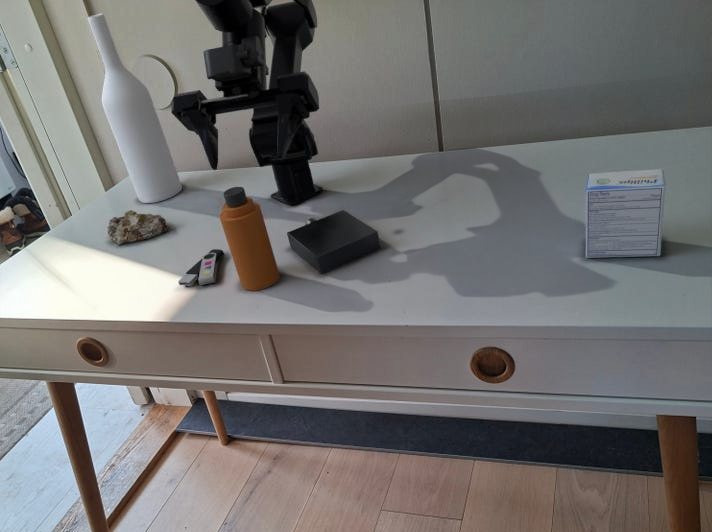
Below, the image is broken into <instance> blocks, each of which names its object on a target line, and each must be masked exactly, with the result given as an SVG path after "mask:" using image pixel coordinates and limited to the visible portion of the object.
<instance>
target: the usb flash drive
mask: <svg viewBox="0 0 712 532" xmlns="http://www.w3.org/2000/svg"><path fill="white" fill-rule="evenodd" d="M223 256H225V252H224V251H223V249H218V248H213V249H211V250H210V251H209V252H207V253H206V254H204V255H203V256H202V258H201V259H200V260H198V261H197V262H196V263H195V264H193V266H191V267H190V268H189V270H187V271H186V272H185V274H184V275H183V276H182V277H181V278H180V279H179V280H178V285H179V286H191V287H192V285H193V284H194V283H196V282H197V280H198V283H199V286H204V285H209V284H213V283H216V280H217V279H216V278H217V271H218V266H219V265H218V264H219V261H220V260H221V259H222V258H223Z"/></svg>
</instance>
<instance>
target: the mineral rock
mask: <svg viewBox="0 0 712 532" xmlns="http://www.w3.org/2000/svg"><path fill="white" fill-rule="evenodd" d="M168 229H169V226H168V225H167V220H166V218H164V217H163V216H162V215H161V214H152V213H137V211H135V210H132V209H130V210H126V211H125V212H124V215H123V216H119V217H117V216H114V217H112V218H111V219H109V220H108V226H107V234H108V238H109V241H111V242H113V243H115V244H117V245H119V246H120V245H122V244H127V243H133V242H135V241H141V240H147V239H151V238H152V237H155V236H156V235H161V234H162V233H164V232H165V233H166V232H167V231H168Z"/></svg>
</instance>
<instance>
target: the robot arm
mask: <svg viewBox="0 0 712 532" xmlns="http://www.w3.org/2000/svg"><path fill="white" fill-rule="evenodd" d="M194 1H195V2H196V4H197V6H198V7H199V8H200V10H201V11H202V12H203V14H204V16H205V17H206V19H207V20H208V22H209V23H210V24H211V26H212V27H213V29H215V31H218V32H221V46H220V47H219V46H218V47H213V48H209V49H205V50H204V51H203V53H202V54H203V58H204V66H205V72H206V79H207V80H213V81H214V88H215V89H216V90H217V91H218V92H222V96H221V97H215V98H210V99H208V98H207V96H206V95H205V94H204V93H203V92H202V91H201V89H197V90H192V91H187V92H181V93H176V94H175V95H173V97H172V99H171V101H170V103H171V104H170V105H171V107H170V109H171V110H170V111H171V114H172V115H173V116H174V117H175V119H176V120H178V122H179V123H181V124H182V126H183V127H185V129H186V130H187V131H191V132H194V133H195V135H197V136H198V137H199V139H200V141H201V144H202V147H203V149H204V152H205V156H206V158H207V160H208V163H209V166H210V168H211V169H212V170H213V171H216V170H218V165H219V129H218V128H217V127H216V126H215V125H216V124H217V115H221V114H228V113H232V112H233V113H234V112H238V111H239V112H240V111H246V110H252V117H251V119H250V120H251V127H249V130H248V139H249V144H250V147H251V150H252V152H253V154H254V156H255V159H256V161H257V163H258V166H259V168H262V167H266V166H271V170H272V173H273V177H274V181H275V183H276V184H275V185H276V188H277V191H275V192H273V193H271V194H270V198H271V199H273V200H275V201H278V202H280V203H282V204H286V205H287V206H295V205H297V204H299V203H301V202H303V201H305V200H307V199H309V198H311V197H314V196H316V195H318V194H320V193H321V192H323V191H324V188H323V186H320V185H317V184H315V183H314V178H313V174H312V170H311V167H310V163H309V161H310V160H313V157H315V156H317V155H318V154H319V151H318V146H317V142H316V139H315V134H314V133H313V132H312V130H311V128H310V127H309V125H308V123H307V122H306V119H309V118H310V117H311V115H310V114H311V113H316V112H317V111H318V110H320V96H319V91H318V89H317V88H316V86H315V84H314V82H313V80H312V78H311V77H310V75H309V73H307V72H306V71H305V70H304V71H301V69H302V61H303V60H302V59H303V52H304V51H305V50H306V49H307V48H308V47H309V46H310V45H311V44H312V43H313V41H314V37H315V32H316V29H317V28H318V16H317V12H316V7H315V5H314V3H313V0H292V1H288V2H284V3H283V2H282V3H279V4H274V5H270V4H271V3H272V2H273V0H194ZM257 9H260V10H257ZM267 36H268V37H269V39H270V41H271V44H272V46H273V49H272V57H271V63H270V71H269V67H268V65H267V53H266V38H267ZM267 76H269V81H268V84H267ZM267 85H268V87H267Z"/></svg>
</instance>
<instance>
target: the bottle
mask: <svg viewBox="0 0 712 532" xmlns="http://www.w3.org/2000/svg"><path fill="white" fill-rule="evenodd" d="M87 22H88V25H89V27H90V30H91V33H92V35H93V38H94V40H95V43H96V46H97V49H98V52H99V54H100V57H101V60H102V62H103V63H102V64H103V65H104V69H105V73H104V79H103V80H104V81H103V86H102V92H101V105H102V108H103V111H104V114H105V117H106V120H107V122H108V125H109V127H110V128H111V132H112V134H113V137H114V140H115V142H116V144H117V147H118V149H119V152H120V155H121V157H122V160H123V163H124V166H125V168H126V170H127V173H128V175H129V178H130V181H131V183H132V186H133V188H134V191H135V194H136V196H137V199H138V200H139V202H141V203H144V204H152V203H153V204H155V203H159V202H163V201H165V200H168V199H171V198H172V197H173V198H174V196H176V195H178V194H179V193H180V192H181V191H182V189H183V186H182V182H181V180H180V176H179V173H178V171H177V168H176V165H175V162H174V160H173V157H172V156H173V155H172V153H171V151H170V147H169V145H168V142H167V140H166V136H165V133H164V130H163V128H162V125H161V122H160V119H159V117H158V114H157V110H156V108H155V105H154V102H153V99H152V96H151V94H150V91H149V89H148V88H147V86H146V85H145V84H144V83H143V82H142V81H141V80H140V79H139V78H137V77H136V76H135V74H133V73H132V71H130V70H128V68H126V66H125V65H124V63H123V62H122V59H121V58H120V54H119V53H118V50H117V47H116V45H115V41H114V38H113V35H112V34H111V31H110V28H109V25H108V22H107V20H106V17H105V15H104V13H97V14H94V15H90V16H88V17H87Z"/></svg>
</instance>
